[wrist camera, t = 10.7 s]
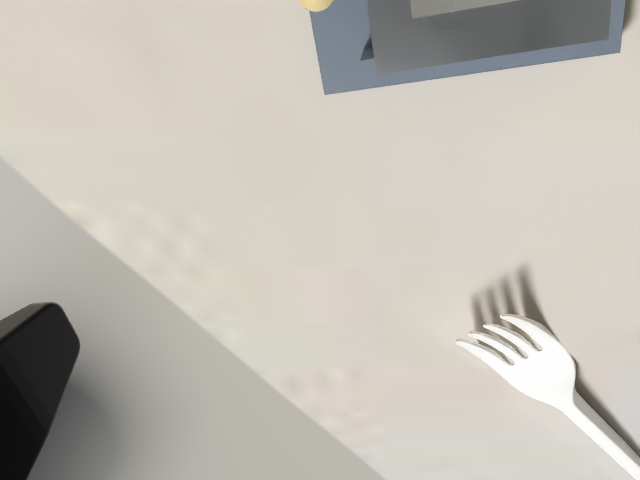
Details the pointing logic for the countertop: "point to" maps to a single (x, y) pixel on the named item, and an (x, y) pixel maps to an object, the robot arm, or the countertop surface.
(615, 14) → the tray
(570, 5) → the block
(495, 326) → the fork
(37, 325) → the robot arm
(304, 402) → the countertop surface
